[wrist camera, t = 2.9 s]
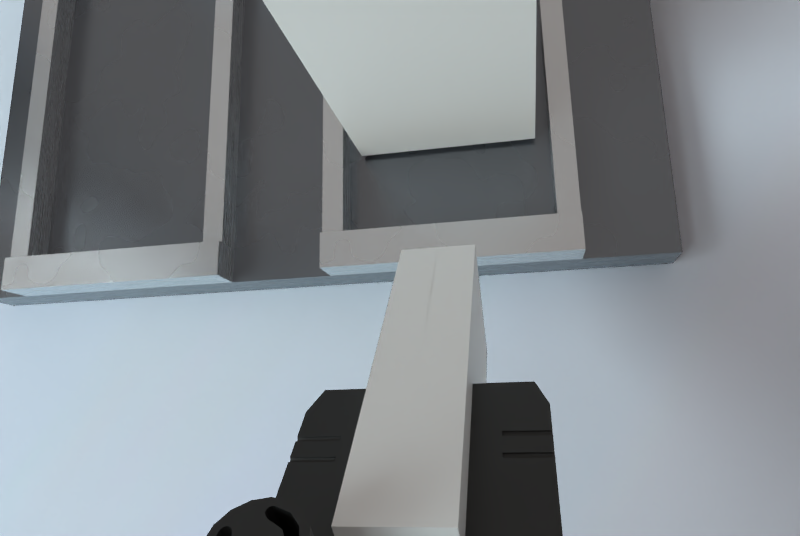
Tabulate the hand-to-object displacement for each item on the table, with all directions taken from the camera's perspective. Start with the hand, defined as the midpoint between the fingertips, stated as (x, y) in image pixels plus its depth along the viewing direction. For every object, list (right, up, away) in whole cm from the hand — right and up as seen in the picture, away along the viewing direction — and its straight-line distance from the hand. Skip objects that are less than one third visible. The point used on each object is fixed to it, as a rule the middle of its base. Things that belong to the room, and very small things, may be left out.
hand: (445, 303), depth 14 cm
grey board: (-4, +12, +9) cm, 16 cm away
